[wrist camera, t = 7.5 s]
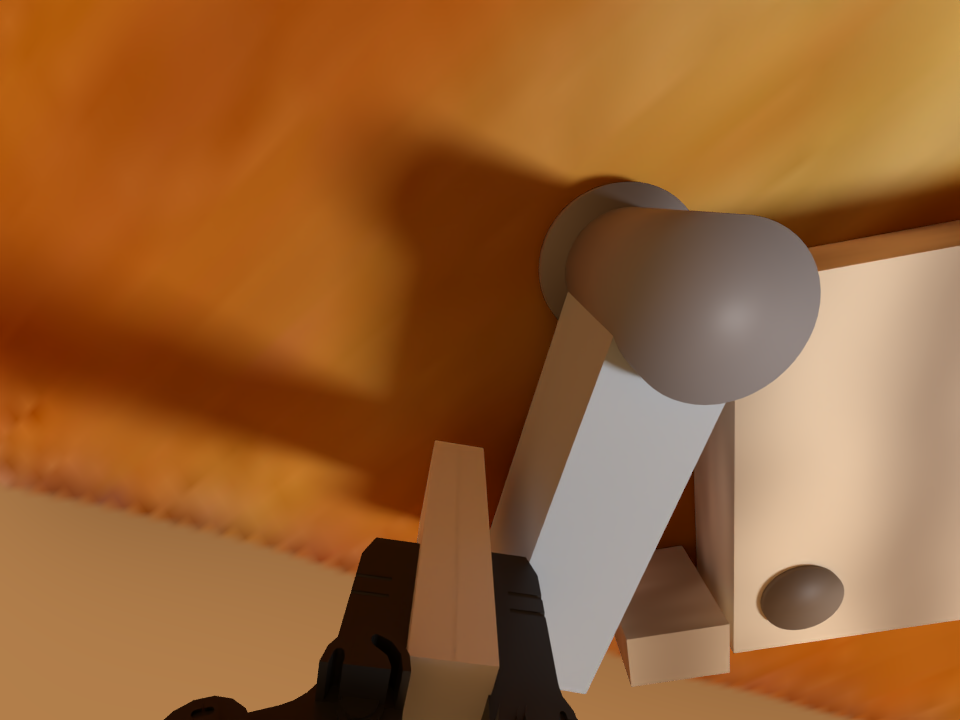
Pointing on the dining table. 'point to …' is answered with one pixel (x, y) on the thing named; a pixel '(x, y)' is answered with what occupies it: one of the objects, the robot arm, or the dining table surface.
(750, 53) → the dining table surface
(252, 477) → the dining table surface
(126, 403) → the dining table surface
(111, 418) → the dining table surface
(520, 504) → the leg bar
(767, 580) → the seat panel
